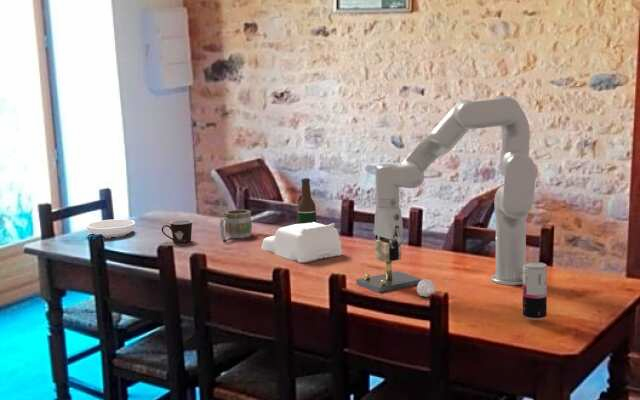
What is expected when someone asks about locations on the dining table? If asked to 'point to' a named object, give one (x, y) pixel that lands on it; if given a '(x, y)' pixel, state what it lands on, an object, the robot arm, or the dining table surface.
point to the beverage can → (534, 290)
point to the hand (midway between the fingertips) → (388, 257)
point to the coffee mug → (180, 231)
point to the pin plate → (388, 280)
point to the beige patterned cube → (384, 250)
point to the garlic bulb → (425, 288)
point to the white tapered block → (304, 242)
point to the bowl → (111, 227)
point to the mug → (236, 224)
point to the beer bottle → (306, 204)
